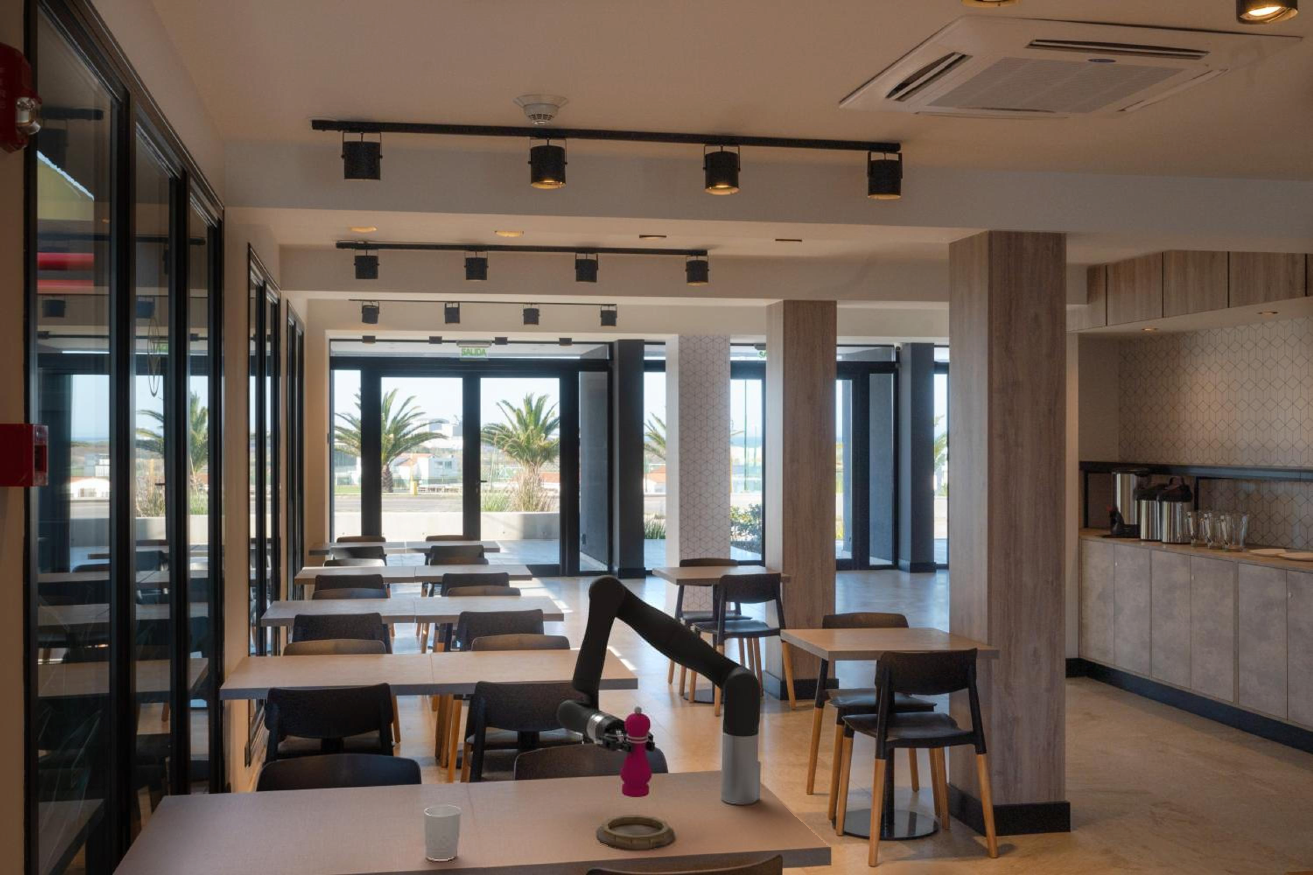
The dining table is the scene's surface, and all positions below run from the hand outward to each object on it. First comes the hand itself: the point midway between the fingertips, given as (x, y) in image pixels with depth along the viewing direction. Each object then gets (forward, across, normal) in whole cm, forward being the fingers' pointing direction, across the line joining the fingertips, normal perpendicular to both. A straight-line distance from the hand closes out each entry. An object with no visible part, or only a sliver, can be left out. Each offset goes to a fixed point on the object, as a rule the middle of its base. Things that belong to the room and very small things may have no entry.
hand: (642, 748), depth 268 cm
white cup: (-10, -44, +21) cm, 50 cm away
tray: (-2, 0, +21) cm, 21 cm away
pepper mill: (-3, 0, +11) cm, 12 cm away
